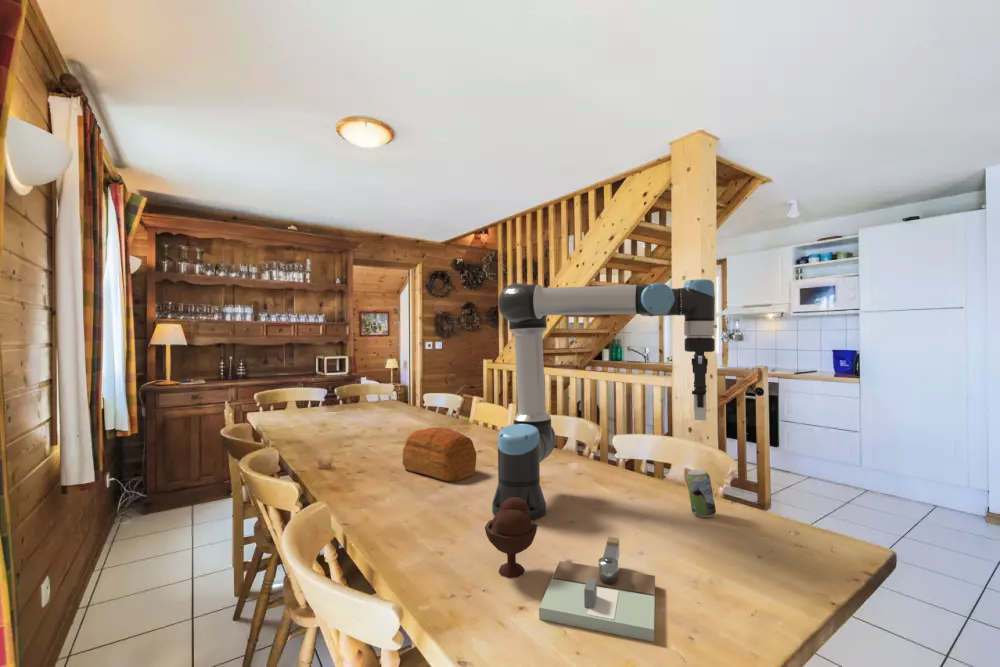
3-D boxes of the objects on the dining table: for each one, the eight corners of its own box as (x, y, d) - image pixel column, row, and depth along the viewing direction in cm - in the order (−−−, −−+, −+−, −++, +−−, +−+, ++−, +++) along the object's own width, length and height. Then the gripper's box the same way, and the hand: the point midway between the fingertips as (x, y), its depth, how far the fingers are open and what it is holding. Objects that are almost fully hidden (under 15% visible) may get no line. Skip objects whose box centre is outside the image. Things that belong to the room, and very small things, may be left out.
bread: (448, 484, 154) (448, 437, 154) (398, 470, 171) (398, 427, 171) (481, 473, 166) (480, 429, 166) (431, 461, 183) (431, 421, 184)
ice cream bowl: (483, 560, 102) (483, 492, 102) (533, 557, 103) (533, 490, 103) (486, 586, 91) (485, 510, 91) (542, 583, 92) (541, 508, 92)
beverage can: (718, 520, 122) (718, 475, 122) (689, 518, 124) (688, 473, 124) (712, 511, 129) (712, 468, 129) (684, 509, 130) (684, 467, 130)
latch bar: (617, 584, 87) (617, 565, 87) (597, 581, 88) (597, 562, 88) (622, 554, 99) (622, 538, 99) (605, 552, 100) (604, 535, 100)
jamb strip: (552, 587, 90) (552, 575, 90) (559, 570, 97) (559, 559, 97) (654, 605, 84) (654, 593, 84) (655, 585, 91) (655, 574, 91)
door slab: (539, 618, 80) (538, 589, 80) (551, 589, 90) (551, 562, 90) (653, 641, 74) (653, 609, 74) (654, 607, 84) (654, 578, 84)
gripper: (717, 337, 112) (717, 424, 112) (712, 336, 135) (712, 409, 135) (684, 337, 115) (684, 422, 115) (684, 336, 138) (685, 407, 138)
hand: (699, 415), depth 125 cm, fingers open, 13 cm apart
